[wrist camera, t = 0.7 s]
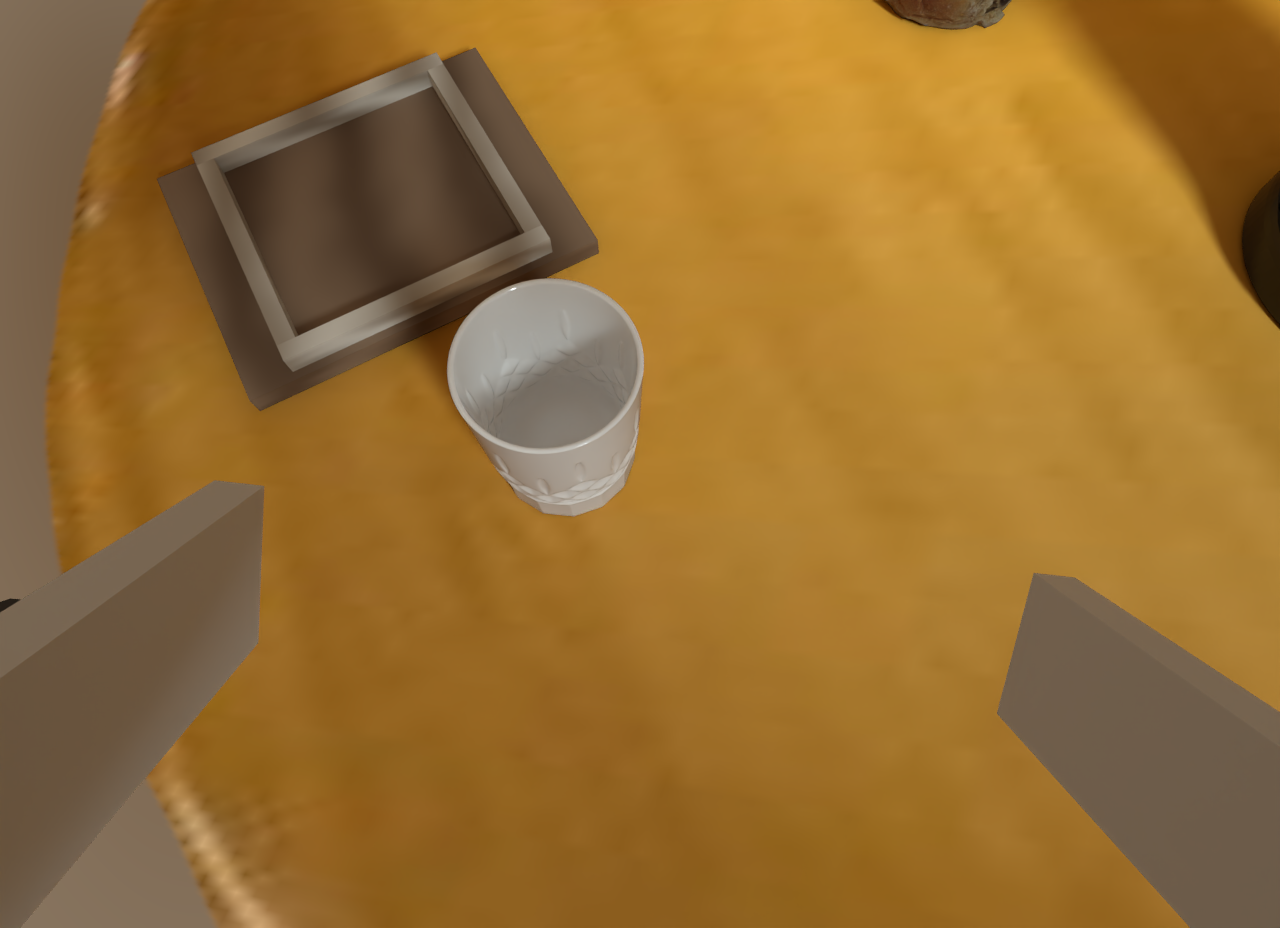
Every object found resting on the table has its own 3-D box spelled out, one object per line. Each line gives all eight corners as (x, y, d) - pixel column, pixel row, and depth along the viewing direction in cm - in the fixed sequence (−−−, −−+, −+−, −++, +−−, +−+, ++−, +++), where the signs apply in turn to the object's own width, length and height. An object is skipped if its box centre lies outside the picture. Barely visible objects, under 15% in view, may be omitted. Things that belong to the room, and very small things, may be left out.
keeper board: (479, 63, 53) (471, 31, 50) (598, 252, 47) (596, 226, 45) (168, 192, 49) (145, 164, 47) (260, 410, 44) (239, 390, 42)
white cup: (460, 477, 43) (406, 390, 33) (548, 359, 45) (521, 247, 36) (590, 558, 41) (572, 489, 32) (674, 431, 44) (680, 333, 34)
